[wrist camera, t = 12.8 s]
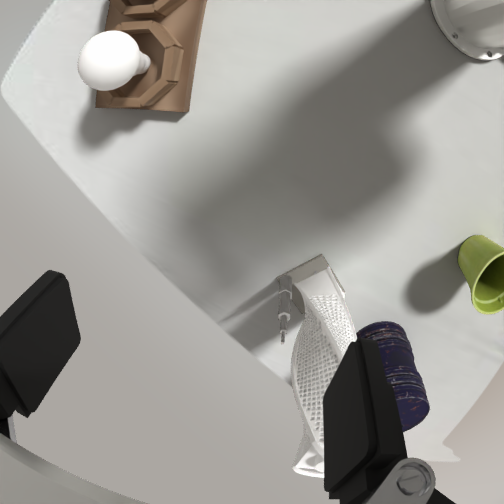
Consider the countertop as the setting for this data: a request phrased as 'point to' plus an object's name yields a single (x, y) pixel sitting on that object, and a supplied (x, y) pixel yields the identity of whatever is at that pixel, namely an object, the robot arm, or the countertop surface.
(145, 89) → the socket board
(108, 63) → the lightbulb
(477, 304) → the plant pot
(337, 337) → the skyscraper
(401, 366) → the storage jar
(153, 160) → the countertop surface
